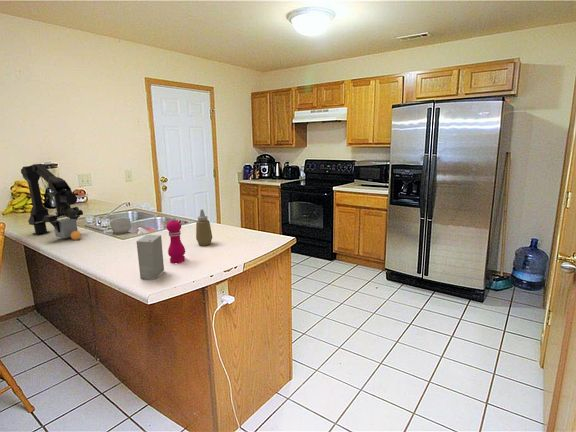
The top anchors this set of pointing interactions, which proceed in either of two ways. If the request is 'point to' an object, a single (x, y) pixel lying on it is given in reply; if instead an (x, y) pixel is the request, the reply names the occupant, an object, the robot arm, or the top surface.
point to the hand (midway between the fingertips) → (66, 230)
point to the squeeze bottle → (203, 230)
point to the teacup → (120, 225)
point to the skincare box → (150, 256)
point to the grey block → (66, 227)
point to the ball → (75, 235)
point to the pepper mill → (175, 242)
